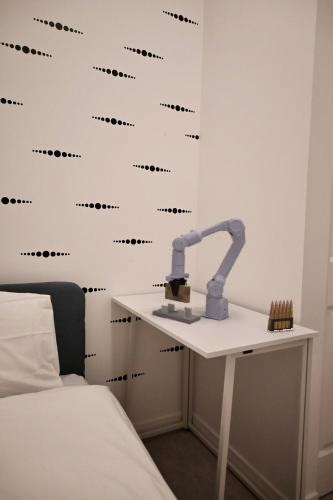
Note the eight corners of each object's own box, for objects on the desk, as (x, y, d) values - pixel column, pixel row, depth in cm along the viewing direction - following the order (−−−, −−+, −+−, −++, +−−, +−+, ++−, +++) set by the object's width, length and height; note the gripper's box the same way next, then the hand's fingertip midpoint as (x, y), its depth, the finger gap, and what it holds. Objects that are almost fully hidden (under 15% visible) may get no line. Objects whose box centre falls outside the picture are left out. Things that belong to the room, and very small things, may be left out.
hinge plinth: (200, 319, 133) (201, 309, 133) (189, 324, 127) (190, 313, 127) (163, 311, 146) (163, 301, 145) (152, 314, 139) (152, 304, 139)
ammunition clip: (289, 328, 125) (291, 298, 124) (293, 330, 123) (294, 300, 123) (267, 331, 122) (268, 300, 121) (270, 332, 120) (272, 301, 119)
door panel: (189, 302, 137) (190, 286, 136) (185, 303, 134) (186, 287, 134) (168, 297, 144) (168, 282, 144) (163, 298, 142) (164, 283, 141)
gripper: (180, 263, 147) (179, 292, 148) (160, 265, 135) (159, 296, 136) (193, 264, 142) (192, 294, 143) (173, 266, 131) (172, 299, 132)
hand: (177, 295), depth 139 cm, fingers closed on door panel, 2 cm apart
